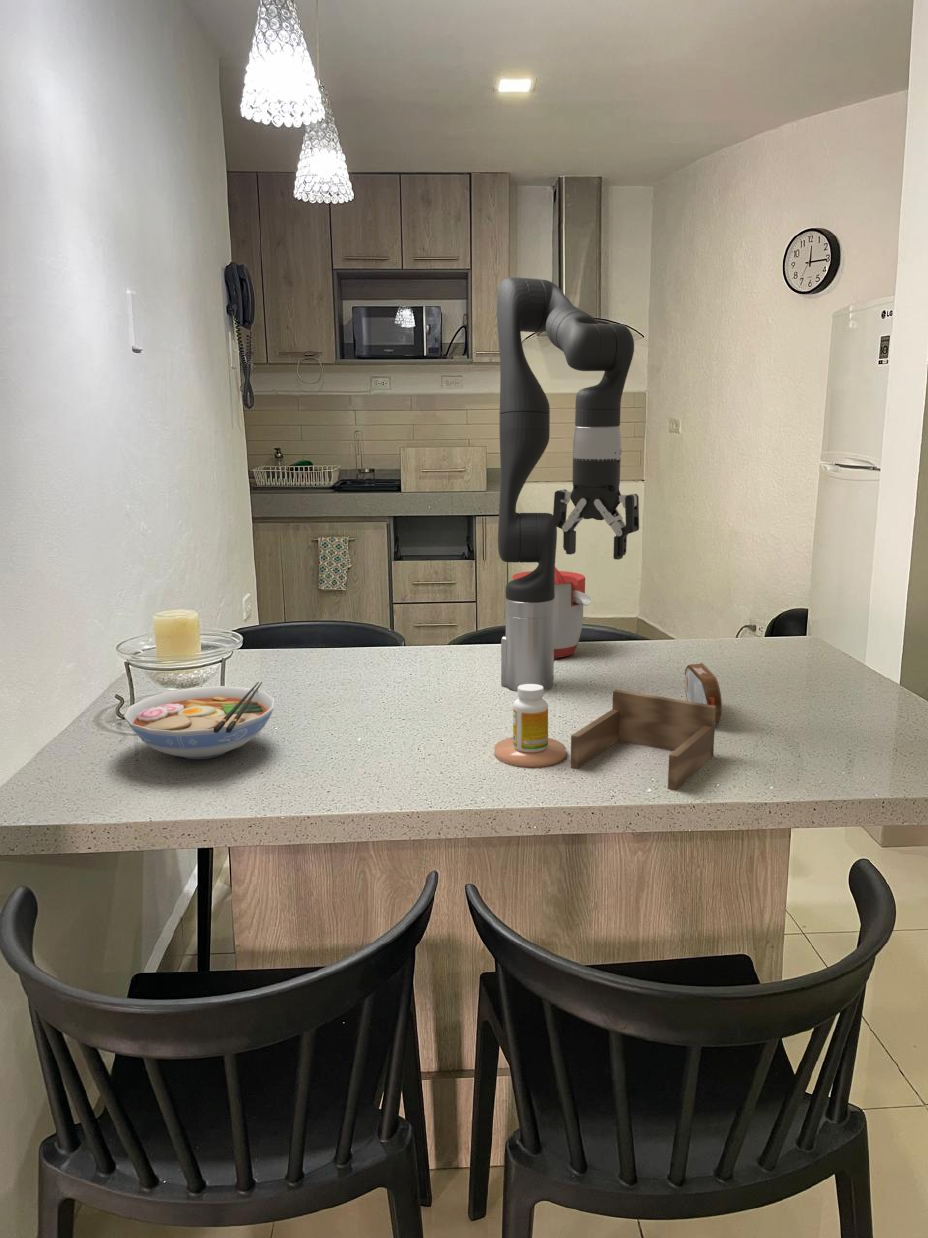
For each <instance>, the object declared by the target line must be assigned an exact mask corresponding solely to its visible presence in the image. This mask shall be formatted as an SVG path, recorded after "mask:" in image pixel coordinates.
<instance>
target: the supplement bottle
mask: <svg viewBox="0 0 928 1238" xmlns="http://www.w3.org/2000/svg"><path fill="white" fill-rule="evenodd" d="M516 692H517V697H518V698H517V699H515V701H513V704H512V732H513V733H512V737H513V746H514V748H515V749H516V750H518V751H521V752H528V753H535V752H541V751H544V750H545V749H547V747H548V738H549V704H548V702H547V700H546V699H544V698H543V697H544V696H545V695H544V693H545V691H544V688H543V686H541V685H538V684H523V685H520V686H518V689H517V691H516Z"/></svg>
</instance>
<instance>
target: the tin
mask: <svg viewBox="0 0 928 1238" xmlns="http://www.w3.org/2000/svg"><path fill="white" fill-rule="evenodd" d="M684 675H685V698H686V701H689V702H695V703H701V704H707V705H713V706H716V714H715V724H719V723H720V722H721V719H722V712H723V711H722V710H723V705H722V704H723V703H722V702H723V700H722V695H721V693H722V692H721V689H720V685H719V682H718V679H717V677H716V675H715V674H714V673H713V672H712V671H711V670H710V669H709V668H708V667H707V666H706V665H705V664H704V663H703V662H699V663H694V664H688V665H686V667H685V670H684Z"/></svg>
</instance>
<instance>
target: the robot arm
mask: <svg viewBox="0 0 928 1238" xmlns="http://www.w3.org/2000/svg"><path fill="white" fill-rule="evenodd" d="M497 291H498V292H497V296H496V324H497V338H498V351H499V368H500V369H499V371H500V373H499V375H500V379H499V380H500V382H499V383H500V384H499V385H500V386H499V388H500V389H499V450H500V451H499V452H500V455H499V459H500V485H499V486H500V489H499V503H498V523H497V548H498V555H499V558H500V560H501V561H502V562H504V563H505V562H506V563H538V564H537V567H536V568H535V569H533V570H531V571H532V572H531V573H529V574H528V575H526V576H523V577H521V578H518V579H515V580H513V579H512V580H510V581H509V582H508V583H506V586H505V635H503V636H502V637H501V640H500V643H501V644H500V647H501V648H500V649H501V650H500V655H501V656H500V657H501V658H500V662H501V663H500V668H501V669H500V671H501V672H500V676H501V677H500V678H501V679H500V680H501V681H500V685H501V686H503V687H506V688H507V689H509V690H512V691H516V692H517V689H518V686H520V685H523V684H538V685H541V686H543V688H544V692H545V691H548V690H550V689H552V688H553V687H554V678H555V675H554V670H555V668H554V666H555V659H554V607H555V586H554V585H555V567H556V556H557V555H556V554H557V544H558V543H557V541H558V528H559V529H561V530H562V533H563V539H562V540H563V542H562V543H563V546H562V547H563V551H565V554H566V555H570V556H571V555H574V554H575V553H576V550H577V548H576V547H577V530H575V529H576V527H577V526H578V525H579V524H580V522H582V521H583V520H590V519H593V520H596V521H605V522H606V524H607V525H608V526H610V528H611V529H612V532H614V533H615V534H614V537H613V557H612V558H613V560H617V561H618V560H621V559H623V557H624V556H625V555H626V554H627V543H628V542H627V540H628V539H627V538H628V535H629V534H632V533H635V532H638V531H639V530H640V511H639V509H640V508H639V507H640V504H639V503H640V502H639V500H640V499H639V495H638V494H637V493H630V494H621V492H620V485H621V484H620V483H621V461H622V459H621V456H622V437H621V405H622V397H623V392H624V389H625V384H626V381H627V377H628V373H629V370H630V367H631V364H632V361H633V357H634V352H635V340H634V336H633V334H632V332H631V330H630V328H628V327H627V326H626V325H624V324H620V323H599V322H598V321H597V320H596V318H595V317H593V316H592V315H591V314H589V313H587V312H585V311H583V310H582V309H580V308H578V307H576V305H574V304H573V303H572V302H571V300H570V299H569V298H568V297H567V295H566V294H565V293H564V292H563V290H562V289H561V288H560V287H559V286H558V285H557V284H556V283H554V282H552V281H550V280H547V279H541V278H540V279H538V278H529V277H512V276H511V277H506V278H504V279H503V280H502V281H501V282H500V285H499V288H498V290H497ZM521 332H526V333H527V332H528V333H542V332H545V333H546V337H547V338H548V339H549V341H550V343H551V344H553V346H554V347H556V348H558V349H559V350H560V351H562V353H563V354H564V357H565V360H566V361H565V362H566V363H567V365H568V366H569V367H570V368H571V369H573V370H575V371H580V372H604V374H603V375H602V378H601V380H600V381H599V383H598V384H595V385H592V386H588V387H584V388H582V389H579V390H578V392H576V396H575V413H574V414H575V416H574V417H575V419H574V426H575V427H574V433H573V441H572V442H573V443H572V490H571V491H568V490H567V489H560V490H555V492H554V496H553V499H554V500H553V510H552V511H553V513H549V512H516V506H517V502H518V499H519V497H520V494H521V491H522V490H523V488H524V485H525V483H526V481H527V479H528V478H529V476H530V474H531V473H532V471H533V470H534V469H535V467H536V466H537V464H538V462H539V461H540V459H541V458H542V456H543V454H544V453H545V451H546V449H547V448H548V445H549V442H550V436H551V435H550V429H551V428H550V424H551V423H550V419H551V417H550V415H551V410H550V407H551V406H550V403H549V399H548V397H547V395H546V393H545V391H544V389H543V388H542V386H541V384H540V382H539V380H538V379H537V376H535V374H534V372H533V371H532V368H531V367H530V364H529V362H528V360H527V358H526V355H525V352H524V348H523V342H522V335H521V334H522V333H521ZM570 502H571V503H572V504H573V505H574V508H573V510H572V511H571V512H570V514H569V515H568V517H567V512H568V511H567V510H568V509H567V508H568V504H569V503H570ZM620 504H622V507H623V508H624V509H625V513H624V514H625V522H624V519H623V516H622V515H621V513H620V511H619V510H618V506H619V505H620Z"/></svg>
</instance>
